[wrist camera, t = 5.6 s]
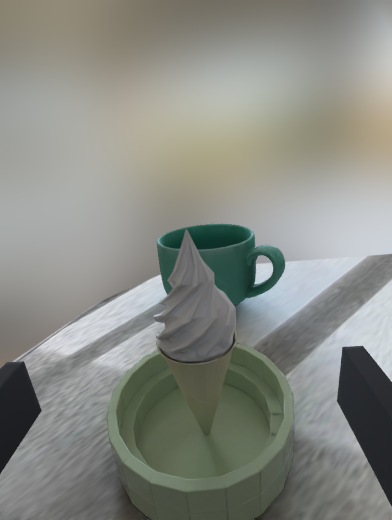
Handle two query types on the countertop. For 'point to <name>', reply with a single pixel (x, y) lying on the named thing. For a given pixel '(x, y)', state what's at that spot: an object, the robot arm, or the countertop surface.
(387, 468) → the robot arm
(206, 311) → the ice cream cone
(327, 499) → the countertop surface
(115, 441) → the bowl
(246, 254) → the mug
